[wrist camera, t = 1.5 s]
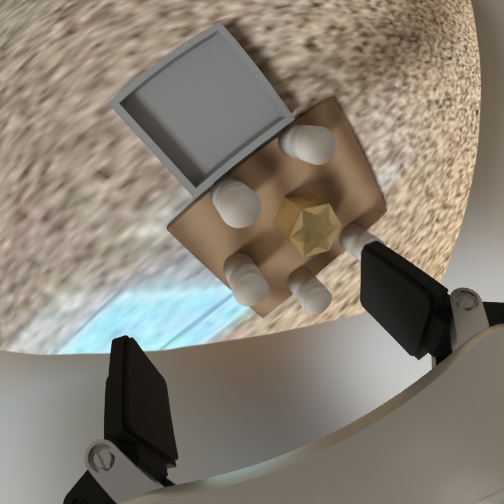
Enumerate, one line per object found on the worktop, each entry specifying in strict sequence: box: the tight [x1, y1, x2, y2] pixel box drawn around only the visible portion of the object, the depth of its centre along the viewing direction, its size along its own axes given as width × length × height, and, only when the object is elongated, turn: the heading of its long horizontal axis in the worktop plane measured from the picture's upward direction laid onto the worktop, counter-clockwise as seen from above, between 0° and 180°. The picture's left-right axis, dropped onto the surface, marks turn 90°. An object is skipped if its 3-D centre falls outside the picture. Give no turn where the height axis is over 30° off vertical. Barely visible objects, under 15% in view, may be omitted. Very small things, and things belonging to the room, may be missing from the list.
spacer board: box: [167, 98, 387, 318], centre depth 33 cm, size 26×21×7 cm
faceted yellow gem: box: [273, 192, 341, 257], centre depth 33 cm, size 7×6×5 cm
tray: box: [108, 22, 295, 198], centre depth 25 cm, size 14×14×3 cm
